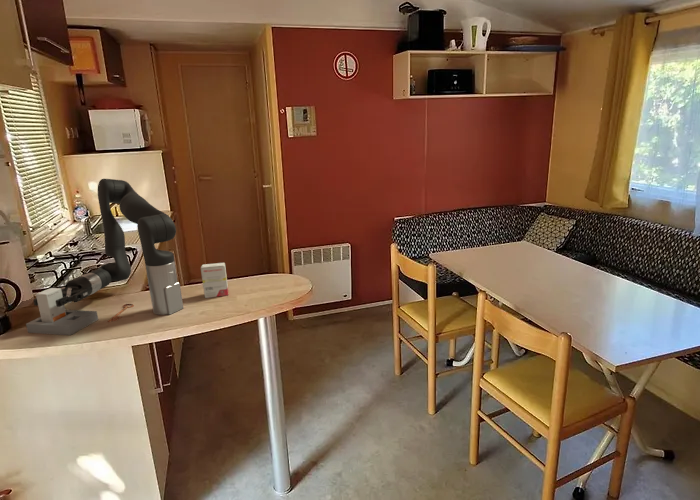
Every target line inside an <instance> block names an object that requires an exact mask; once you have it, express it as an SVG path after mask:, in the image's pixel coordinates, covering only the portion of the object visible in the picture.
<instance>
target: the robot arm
mask: <svg viewBox="0 0 700 500" xmlns="http://www.w3.org/2000/svg"><path fill="white" fill-rule="evenodd" d="M97 199H98V205H99V211H100V215H101V221H102V222H101V223H102V226H103V233H104V235H103V236H104V254H105V255H106V256H107V257H111V258H113V260H114V262H108V263H105V264H102V265H101V266H100V267H99V268H97V269H95V270H93V271H91V272H88V273H84V274H82V275H79V276H77V277H75V278H72V279H70V280H68V281H67V282H66V283H65V285H64V287H60V288H61V291H62V296H63V297H62V298H60V299H58V300H56V306H57V307H60V306H62V305H66V304H71V303H79V302H80V301H82V300H85V299H86V298H88V297H89V296H91V295H93V294H95V293H97V292H98V291H100V290H102V289H104V288H105V287H108V286H109V285H110V284H111V282H116V281H125V280H128V278H130V276H131V272H132V269H131V264H130V261H129V258H128V255H127V251H126V237H125V232H124V230H123V228H122V226H121V225H120V223H119V222H118V220H117V219H116V218H115V216H114V214H113V212H112V210H111V206H110V205H111V204H119V211H120V212H121V214H122V215H123V216H124V217H125V218H126V219H127V220H128V221H129V222H130V223H133V224H136V225H137V232H138V237H139V242H140V245H141V246H140V247H141V250H142V256H143V260H144V265H145V270H146V277H147V282H148V289H149V295H150V296H149V297H150V300H151V306H152V312H153V314H155V315H162V316H163V315H172V314H174V313H176V312H178V311H180V310H183V309H184V304H183V296H182V288H181V283H180V282H178V276H177V270H176V268H177V267H176V262H175V256H174V253H173V252H172V251H169V250H163V249H158V248H156V246H155V244H159V243H161V244H162V243H165V242H169V241H171V240H173V239H174V238H175V236H176V234H177V228H176V224H175V222H174V221H173V218H171V216H169V215H168V214H166V213H165V212H163V211H161V210H160V209H158V208H156V207H155V206H153V205H152V204H150V203H149V202H148V200H146V199H145V198H144V197H143V196H141V195H140V194H138V192H136V190H134V188H133V187H132V185H130V183H129V182H127V181H126V180H122V179H111V178H101V179H100V180H99V181H98V184H97ZM33 305H34V306H37V307H38V302H37V298H33Z"/></svg>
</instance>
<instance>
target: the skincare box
mask: <svg viewBox="0 0 700 500" xmlns="http://www.w3.org/2000/svg"><path fill="white" fill-rule="evenodd" d="M61 288H62V287H58V288H57V287H50V288H48V289H45V290H42V291H41V292H40V291H39V292H38V293H36V294H35V297H36V298H37V302H38V306H37V307H38V310H39V315H40V316H39V317H41V320H42V322H47V323H53V322H55V321H57V320H59V319H61V318H63V317H65V316H67V315H66V310H67V309H66V304H64V305H62V306H60V307H57V306H56V300H58V299H60V298H62V297H63V296H62V291H61ZM36 298H35V299H36Z"/></svg>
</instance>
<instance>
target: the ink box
mask: <svg viewBox="0 0 700 500" xmlns="http://www.w3.org/2000/svg"><path fill="white" fill-rule="evenodd" d="M200 273H201V279H202V280H201V281H202V287H203V293H204V299H209V298H215V297H216V298H218V297H223V296H229V287H228V286H229V285H228V278H227V277H228V276H227V269H226V263H225V262H217V263H207V264H206V263H205V264H202V265H201V266H200Z"/></svg>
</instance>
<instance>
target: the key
mask: <svg viewBox="0 0 700 500" xmlns="http://www.w3.org/2000/svg"><path fill="white" fill-rule="evenodd" d="M134 306H135V305H134V304H132V303H126V304H123V305H122V309H121V310H120V311H118V312H117V313H116V314H115V315H113V316H112V317H111V318H110V319H108V320H107V323H111V322H117V321H118V319H122V316H120V315H121V314H122V313H123V312H124V311H126V310H127V309H131V308H133V307H134Z"/></svg>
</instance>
